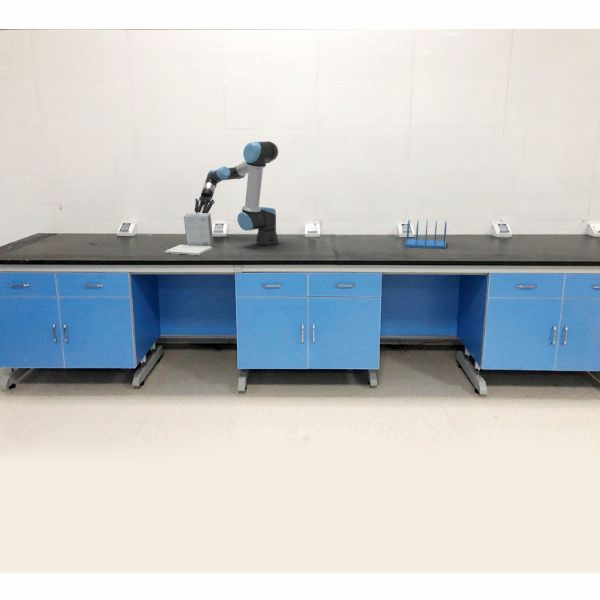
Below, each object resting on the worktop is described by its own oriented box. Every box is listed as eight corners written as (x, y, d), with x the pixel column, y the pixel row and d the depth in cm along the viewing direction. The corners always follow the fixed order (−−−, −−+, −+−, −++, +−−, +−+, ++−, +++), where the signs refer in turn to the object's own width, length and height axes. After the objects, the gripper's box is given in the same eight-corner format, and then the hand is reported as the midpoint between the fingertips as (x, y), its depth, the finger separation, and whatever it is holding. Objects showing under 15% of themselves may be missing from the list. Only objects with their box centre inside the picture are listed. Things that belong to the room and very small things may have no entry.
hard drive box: (213, 243, 375) (211, 213, 367) (211, 247, 368) (208, 216, 360) (189, 243, 376) (186, 213, 368) (186, 247, 369) (183, 216, 361)
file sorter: (404, 247, 368) (406, 223, 364) (406, 241, 385) (407, 218, 380) (445, 249, 363) (447, 224, 359) (445, 243, 379) (447, 219, 375)
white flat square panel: (212, 248, 364) (212, 246, 364) (198, 255, 346) (198, 253, 345) (180, 246, 370) (180, 244, 370) (164, 253, 352) (164, 251, 351)
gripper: (220, 195, 382) (210, 225, 372) (200, 194, 386) (189, 224, 376) (216, 188, 375) (205, 218, 365) (196, 187, 379) (185, 217, 370)
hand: (197, 221), depth 371 cm, fingers closed
